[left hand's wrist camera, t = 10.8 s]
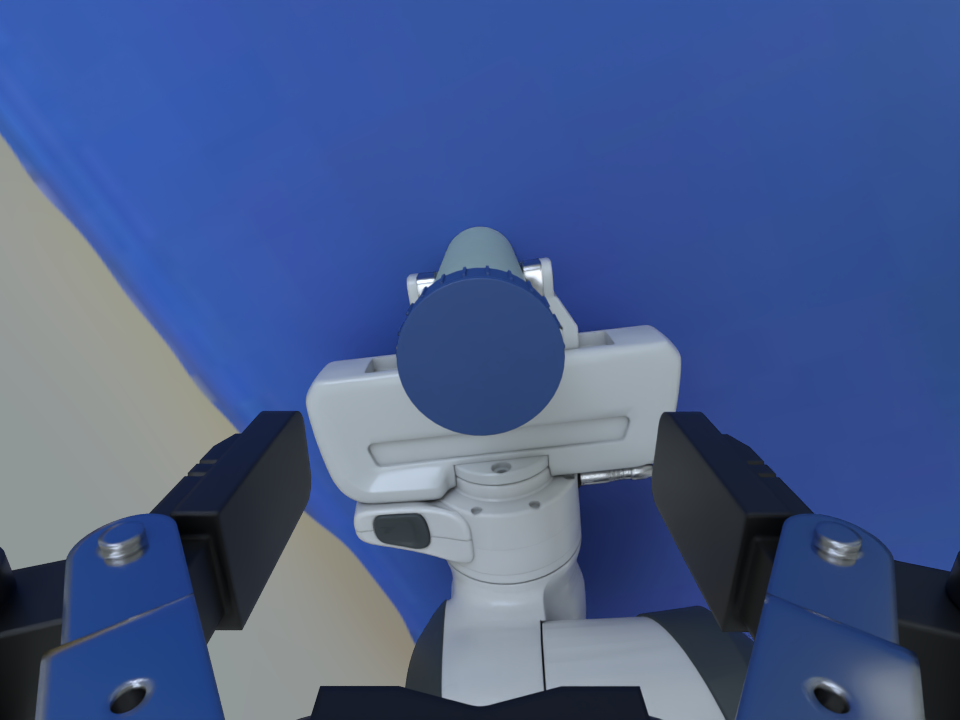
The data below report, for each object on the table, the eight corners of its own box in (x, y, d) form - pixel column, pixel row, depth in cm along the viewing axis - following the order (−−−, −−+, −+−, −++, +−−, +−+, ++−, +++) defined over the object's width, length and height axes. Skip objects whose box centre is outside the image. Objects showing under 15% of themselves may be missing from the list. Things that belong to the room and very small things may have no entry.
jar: (446, 223, 32) (412, 281, 16) (518, 229, 33) (559, 293, 16) (442, 294, 34) (408, 414, 17) (511, 299, 34) (541, 424, 18)
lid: (404, 258, 17) (395, 267, 15) (569, 271, 17) (579, 282, 15) (399, 408, 19) (391, 431, 17) (548, 419, 19) (555, 443, 17)
